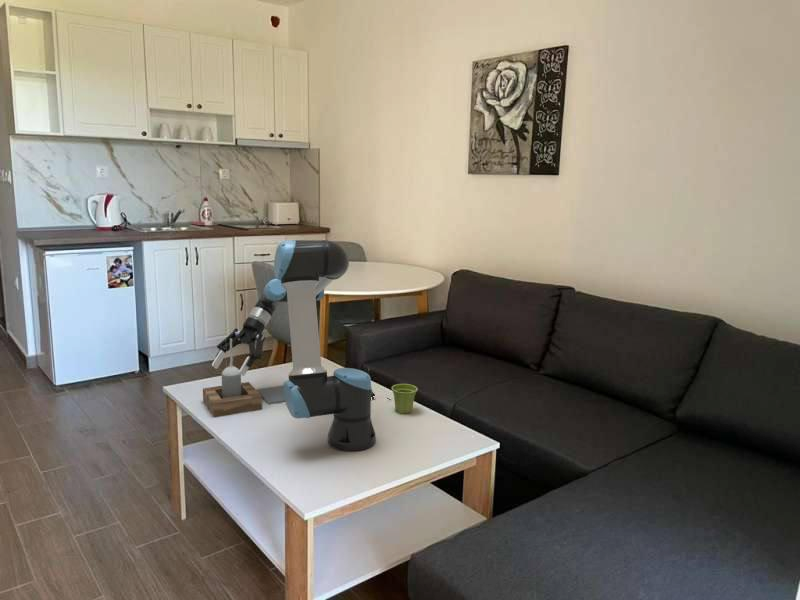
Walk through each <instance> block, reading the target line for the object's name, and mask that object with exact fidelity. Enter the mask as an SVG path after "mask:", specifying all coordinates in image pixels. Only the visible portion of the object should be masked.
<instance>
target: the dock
mask: <svg viewBox="0 0 800 600" xmlns="http://www.w3.org/2000/svg"><path fill="white" fill-rule="evenodd" d="M256 389H257V388H255V387H254V386H253V385H252V384H251V382H249V381H246V382H241V395H242V396H236V397H229V398H222V399H221V397H222V385H217V386H208V387H202V401H204V402H203V403H204V405H205V404H206V405H205V407H206V408H207V407H208V408H207V409H208V411H209V410H210V411H209V412H210V414H211V415H213V416H212V417H213V418H217V417H223V416H230V415H235V414H240V413H248V412H253V411H259V410H263V401H262V399H263V398H262V396H261V395H260V394H259V393H258V391H257V390H256Z"/></svg>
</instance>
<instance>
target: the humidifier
mask: <svg viewBox="0 0 800 600" xmlns="http://www.w3.org/2000/svg"><path fill="white" fill-rule="evenodd" d="M227 352H229V353H228V355H229V358H230V360H229V365H227V361H225V364H226V365H225V366H226V367H225V368H224V369H223V371H222V372H221V386H222V397H221V399H222V398H229V397H236V396H242V395H241V383H242V374H240V373H239V370H240V369H239V368H237V367H236V366H234V365H233V362H234V357H233V354H232V353H233V348H232V339H230V350H229V351H227V350H226V352H225V353H226V354H225V357H227Z"/></svg>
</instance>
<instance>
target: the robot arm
mask: <svg viewBox="0 0 800 600" xmlns="http://www.w3.org/2000/svg"><path fill="white" fill-rule="evenodd" d="M349 260H350V259H349V256H348V254H347V251H346V249H344V247H343V246H342V245H340V244H339V243H337V242H334V241H332V240H328V239H324V240H323V239H321V240H316V239H315V240H313V239H312V240H311V239H309V240H308V239H304V240H303V239H299V240H298V239H293V240H285V241H281V242H280V243H279V244H278V245H277V247H276V250H275V254H274V260H273V261H274V262H273V273H274V279H270V281H268V283H266V285H265V286H264V289H263V290H262V293H261V294H260V295H259V296H260V297H259V298H258V299H257V302H256V303H255V305H254V306H253V308H252V309H251V312H250V313H248V317H247V318H246V319H245V321H244V322H243V324H242V329H241V330H239V329H238V328H234V329H233V330H232V332H231V333H230V334H229V335H228V336H227V337H225V338H224V339H223V340H222V341H220V343H219V344H217V346H216V348H217V349H218V352H217V354H216V355H215V359H214V360H213V362H212V364H211V367H213V368H215V370H218V369H219V367H220V365H221V363H222V362H223V360H224V358H226V356H225V354H226V355H227V352H229V351H230V339H232V349H233V348H235V347H236V346H237V347H238V345H242V344H243V345H244V344H245V345H248V350H249V356H248V355H247V357H246V358H245V360H244V362H243V364H242V365H241V367H240V369H239V373H240V374H241V376H242V377H243V376H244V377H245V376H246V374H247V372H248V370H249V369H250V368H251V367H252V366H253V364H254V362H255V361H256V360H261V359H262V355H263V347H264V341H265V339H266V337H265V335H263V334H262V333H263V332H264V330H265V328H266V326H267V325H268V323H270V320H271V318H272V317H273V315H274V313H275V311H276V309H277V308H278V306H279V305H280V304H281V303H287V309H288V320H289V321H288V322H289V333H290V335H289V336H290V337H289V338H290V347H291V359H292V369H291V371H290V372H289V373H288V380H285V381H284V382H283V385H282V386H283V387H284V389H283V390H284V397H285V402H284V403H285V404H286V408H287V410H288V412H289V415H290V416H291V417H292V418H294V419H310V418H314V417H321V416H328V415H329V416H330V415H333V418H332V422H331V425H330V427H329V430H328V433H327V444H328V445H329V446H330V447H331V448H333V449H335V450H339V451H343V452H344V451H346V452H358V451H364V450H367V449H369V448H371V447H372V446H374V445H375V444H376V435H377V434H376V431H375V428H374V425H373V422H372V419H371V418H372V417H371V412H372V411H371V410H372V409H371V408H372V407H371V406H372V400H371V389H372V390H373V387H372V378H371V376H370V374H369V375H368V372H366V371H363V370H360V369H357V368H350V367H340V368H336V369H335V370H334V371H333V375H328V371H327V369H326V368H324V367H323V365H322V357H321V345H320V335H319V322H318V320H319V319H318V311H317V301H320V300H323V298H324V295H325V288H326V287H327V286H329V285H330V284H331V283H332V282H333V281H334V280H335V281H336V280H338V279H340V278H342V277H343V276H344V275H345V274H346V272H347V271H348V268H349V266H350V264H349V263H350V261H349ZM226 350H227V352H226Z"/></svg>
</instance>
